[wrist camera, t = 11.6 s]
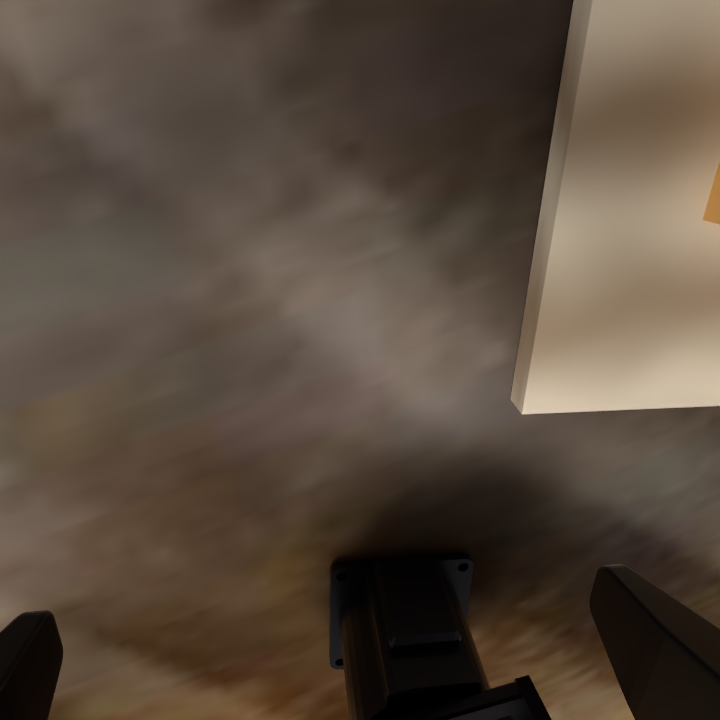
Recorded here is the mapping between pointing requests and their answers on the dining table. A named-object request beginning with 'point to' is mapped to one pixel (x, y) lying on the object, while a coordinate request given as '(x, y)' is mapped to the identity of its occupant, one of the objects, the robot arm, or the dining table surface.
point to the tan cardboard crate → (714, 201)
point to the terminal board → (628, 217)
